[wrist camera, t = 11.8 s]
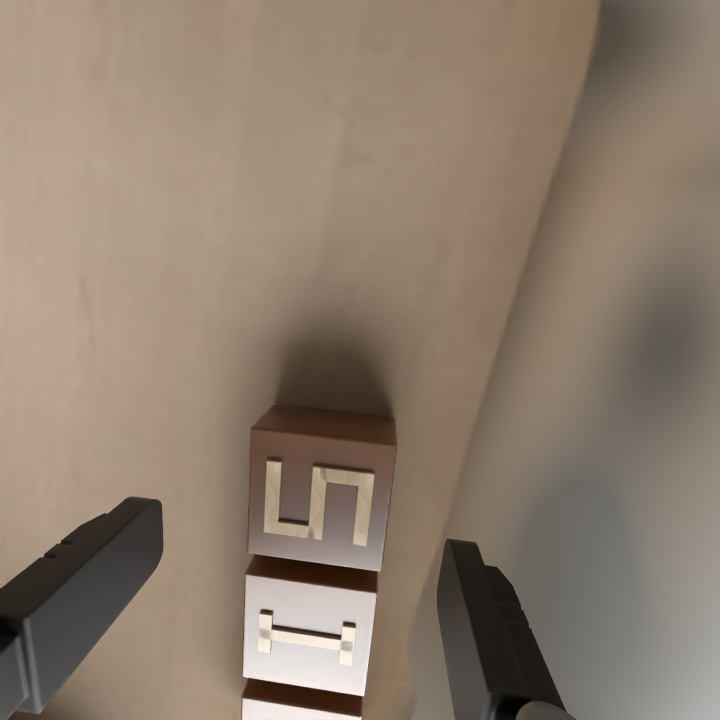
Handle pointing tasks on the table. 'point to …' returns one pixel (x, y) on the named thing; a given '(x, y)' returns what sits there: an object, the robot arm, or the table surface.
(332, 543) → the tile
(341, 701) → the tile
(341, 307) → the table surface
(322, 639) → the tile
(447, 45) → the table surface
